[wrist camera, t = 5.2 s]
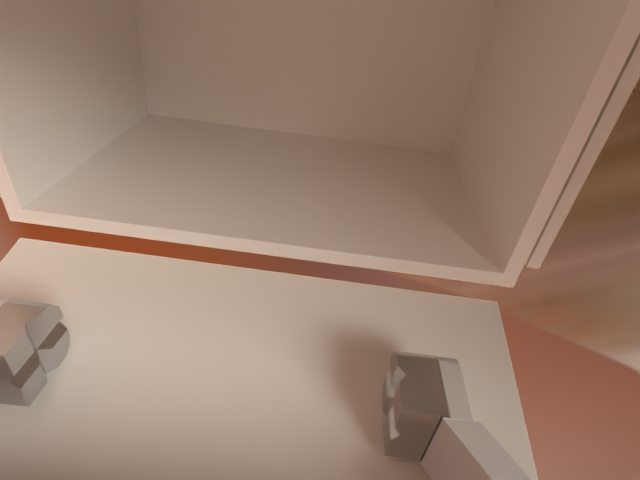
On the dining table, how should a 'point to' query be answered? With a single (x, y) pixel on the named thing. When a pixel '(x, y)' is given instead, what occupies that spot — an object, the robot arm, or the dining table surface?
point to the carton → (315, 124)
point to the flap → (235, 370)
